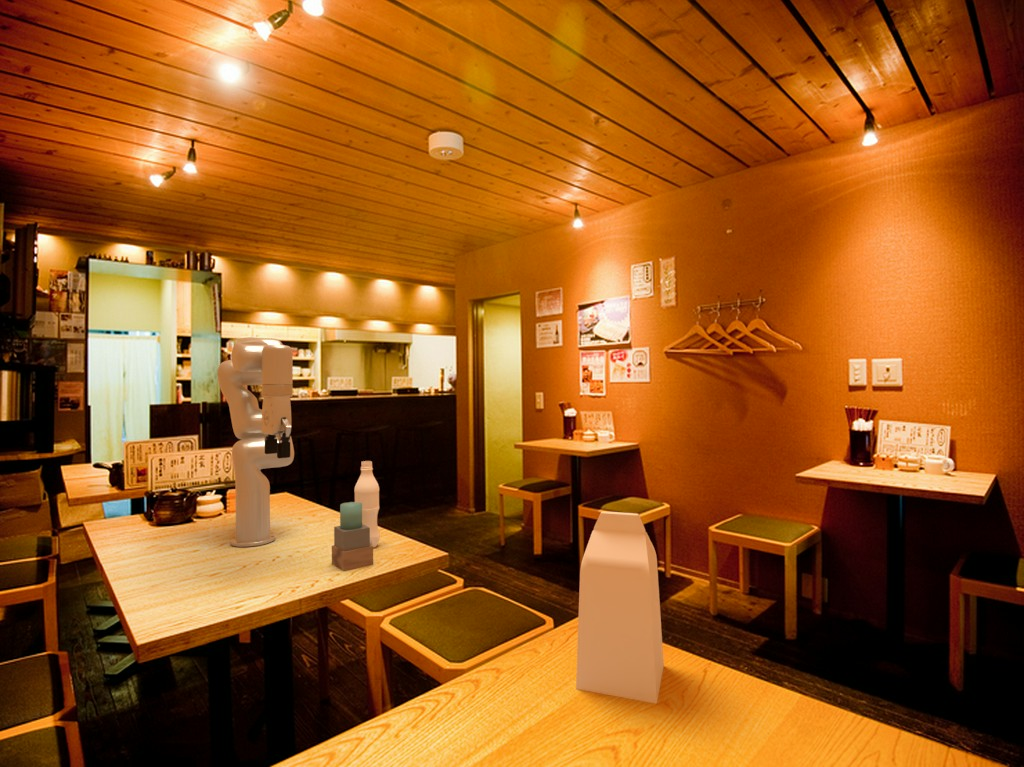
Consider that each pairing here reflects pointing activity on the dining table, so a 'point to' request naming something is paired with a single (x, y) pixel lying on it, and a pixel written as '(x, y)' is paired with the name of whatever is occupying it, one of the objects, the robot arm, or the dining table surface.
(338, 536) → the tower mid
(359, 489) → the water bottle
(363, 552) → the tower base
